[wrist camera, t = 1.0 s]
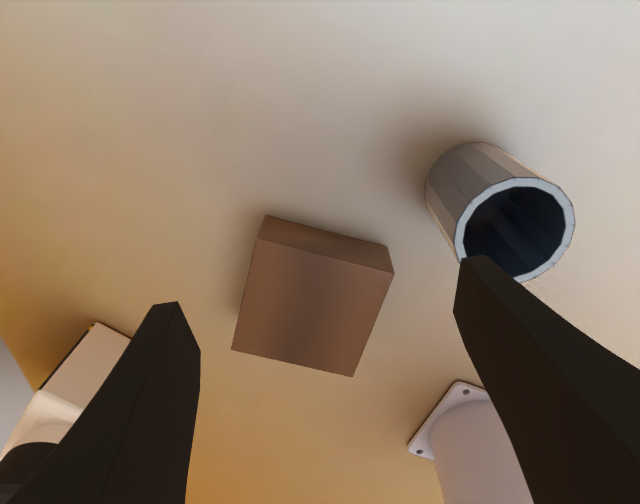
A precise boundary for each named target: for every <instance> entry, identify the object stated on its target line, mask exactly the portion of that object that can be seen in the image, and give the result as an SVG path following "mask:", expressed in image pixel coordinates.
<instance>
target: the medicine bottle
mask: <svg viewBox="0 0 640 504" xmlns="http://www.w3.org/2000/svg"><path fill="white" fill-rule="evenodd" d="M130 341H131V339H129V338H127V337H125V336H123V335H121V334H120V333H118V332H116V331H114V330H112V329H110V328H108V327H106V326H104V325H103V324H101V323H98V322H95V323H93V324H92V325H91V326H90V327H89V329H88V330H87V331H86V332H85V333H84V335H83V336H82V337H81V338H80V339H79V341H78V342H77V343H76V344H75V345H74V347H73V348H72V349H71V350H70V351H69V353H68V354H67V355H66V356H65V358H64V359H63V360H62V361H61V362H60V364H59V365H58V366H57V367H56V368H55V370H54V371H53V372H52V373H51V374H50V376H49V377H48V378H47V379H46V380H45V382H44V383H43V384H42V385H41V386H40V388H39V389H38V390H37V391H36V393H35V394H34V396H33V398H32V400H31V401H30V403H29V405H28V407H27V408H26V410H25V412H24V414H23V415H22V417H21V419H20V421H19V422H18V424H17V426H16V428H15V429H14V431H13V433H12V435H11V436H10V438H9V440H8V442H7V443H6V445H5V447H4V449H3V451H2V452H1V454H0V504H6V503H7V502H8V501H9V499H10V498H11V497H12V496H13V495H14V494H15V493H16V492H17V491H18V490H19V489H20V487H21V486H22V485H23V484H24V483H25V482H26V481H27V480H28V478H29V477H30V476H31V475H32V474H33V473H34V472H35V471H36V470H37V468H38V467H39V466H40V465H41V464H42V463H43V461H44V460H45V459H46V458H47V457H48V455H49V454H50V453H51V452H52V450H53V449H54V448H55V447H56V446H57V444H58V443H59V442H60V441H61V439H62V438H63V437H64V436H65V434H66V433H67V432H68V430H69V429H70V428H71V427H72V425H73V424H74V423H75V421H76V420H77V419H78V417H79V416H80V415H81V413H82V412H83V410H84V409H85V408H86V406H87V405H88V404H89V402H90V401H91V399H92V398H93V397H94V395H95V394H96V392H97V391H98V390H99V388H100V387H101V385H102V384H103V382H104V381H105V379H106V378H107V376H108V375H109V373H110V372H111V370H112V369H113V367H114V366H115V364H116V363H117V361H118V360H119V358H120V357H121V355H122V354H123V352H124V350H125V349H126V347H127V346H128V344H129V342H130Z"/></svg>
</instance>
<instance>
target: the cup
mask: <svg viewBox="0 0 640 504" xmlns="http://www.w3.org/2000/svg"><path fill="white" fill-rule="evenodd" d="M424 195H425V201H426V204H427V207H428V209H429V211H430V214H431V215H432V217H433V219H434V221H435V222H436V224H437V226H438V228H439V229H440V231H441V233H442V234H443V236H444V238H445V240H446V241H447V243H448V245H449V247H450V248H451V250H452V252H453V253H454V255H455V257H456V259H457V260H458V262H459V263H460V264H461V258H465V257H472V256H478V255H486V256H487V257H489V258H490V259H491V260H492V261H494V262H495V263H496V264H497V265H498V266H500V267H501V268H502V269H503V270H504V271H505V272H507V273H508V274H509V275H510V276H511V277H513V278H514V279H515V280H516V281H517V282H519V283H521V282H524V281H528V280H531V279H534V278H536V277H538V276H539V275H541V274H542V273H544V272H545V271H546V270H548V269H549V268H551V267H552V266H554V264H556V263H557V261H558V260H559V259H560V258H561V256H562V255H563V254H564V252H565V251H566V250H567V248H568V247H569V245H570V242H571V239H572V235H573V232H574V229H575V217H574V211H573V205H572V202H571V201H570V200H569V198H568V197H567V196H566V194H565V193H564V192H563V191H562V189H561V188H560V187H559V186H557V185H556V184H554V183H553V182H551V181H550V180H548V179H547V178H545V177H543V176H542V175H540V174H539V173H537V172H536V171H534V170H533V169H531V168H529V167H528V166H526V165H525V164H523V163H522V162H520V161H519V160H517V159H515V158H514V157H512V156H511V155H509V154H508V153H506V152H504V151H502V150H500V149H499V148H497V147H495V146H493V145H490V144H487V143H481V142H471V143H465V144H462V145H458V146H456V147H454V148H452V149H450V150H448V151H447V152H446V153H444V154H443V155H442V156H441V157H440V158H439V159H438V160H437V161H436V162H435V163H434V164H433V166H432V167H431V169H430V171H429V173H428V175H427V178H426V181H425V187H424Z"/></svg>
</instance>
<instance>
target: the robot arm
mask: <svg viewBox="0 0 640 504" xmlns="http://www.w3.org/2000/svg"><path fill="white" fill-rule="evenodd" d="M453 313H454V317H455V320H456V323H457V326H458V329H459V332H460V334H461V337H462V340H463V343H464V346H465V348H466V350H467V352H468V354H469V356H470V359H471V361H472V363H473V365H474V367H475V369H476V371H477V373H478V375H479V377H480V379H481V381H482V383H483V385H484V387H485V389H486V390H483V389H481V388H478V387H475V386H472V385H470V384H467V383H464V382H456V383H454V384H453V386H452V387H451V388H450V389H449V391H448V392H447V393H446V395H445V396H444V397H443V399H442V400H441V401H440V403H439V404H438V405H437V407H436V408H435V409H434V411H433V412H432V413H431V415H430V416H429V417H428V419H427V420H426V421H425V423H424V424H423V425H422V427H421V428H420V429H419V431H418V432H417V433H416V435H415V436H414V437H413V439H412V440H411V441H410V443H409V444H408V446H407V448H408V451H409V452H410V453H412V454H415V455H418V456H421V457H424V458H427V459H430V460H433V461H434V462H435V466H436V470H437V474H438V478H439V482H440V486H441V490H442V494H443V498H444V502H445V504H640V370H639V369H638V368H636V367H634V366H633V365H631V364H630V363H628V362H626V361H625V360H623V359H622V358H620V357H618V356H617V355H615V354H614V353H612V352H611V351H609V350H608V349H606V348H605V347H603V346H602V345H600V344H599V343H597V342H596V341H594V340H593V339H591V338H590V337H589V336H587V335H586V334H584V333H583V332H582V331H580V330H579V329H577V328H576V327H574V326H573V325H572V324H570V323H569V322H568V321H566V320H565V319H564V318H562V317H561V316H560V315H559V314H557V313H556V312H555V311H553V310H552V309H551V308H550V307H548V306H547V305H546V304H544V303H543V302H542V301H541V300H539V299H538V298H537V297H536V296H534V295H533V294H532V293H531V292H529V291H528V290H527V289H526V288H525V287H523V286H522V285H521V284H520V283H519V282H517V281H516V280H515V279H514V278H513V277H511V276H510V275H509V274H508V273H507V272H505V271H504V270H503V269H502V268H501V267H500V266H498V265H497V264H496V263H495V262H494V261H492V260H491V259H490V258H489V257H487V256H486V255H478V256H472V257H465V258H461V264H460V270H459V276H458V283H457V289H456V295H455V302H454V308H453ZM200 357H201V351H200V349H199V346H198V344H197V342H196V340H195V338H194V335H193V333H192V331H191V329H190V327H189V325H188V322H187V320H186V318H185V316H184V314H183V312H182V309H181V307H180V305H179V303H178V301H175V302H169V303H162V304H155V305H153V306H152V307H151V309H150V310H149V312H148V313H147V315H146V317H145V318H144V320H143V321H142V323H141V325H140V326H139V328H138V330H137V331H136V333H135V334H134V336H133V338H132V339H131V341H130V342H129V344H128V346H127V347H126V349H125V350H124V352H123V354H122V355H121V357H120V358H119V360H118V361H117V363H116V364H115V366H114V367H113V369H112V370H111V372H110V373H109V375H108V376H107V378H106V379H105V381H104V382H103V384H102V385H101V387H100V388H99V390H98V391H97V392H96V394H95V395H94V397H93V398H92V399H91V401H90V402H89V404H88V405H87V406H86V408H85V409H84V410H83V412H82V413H81V415H80V416H79V417H78V419H77V420H76V421H75V423H74V424H73V425H72V427H71V428H70V429H69V430H68V432H67V433H66V434H65V436H64V437H63V438H62V439H61V441H60V442H59V443H58V444H57V446H56V447H55V448H54V449H53V450H52V452H51V453H50V454H49V455H48V457H47V458H46V459H45V460H44V461H43V463H42V464H41V465H40V466H39V467H38V468H37V470H36V471H35V472H34V473H33V474H32V475H31V476H30V477H29V478H28V480H27V481H26V482H25V483H24V484H23V485H22V486H21V487H20V489H19V490H18V491H17V492H16V493H15V494H14V495H13V496H12V497H11V498H10V499H9V501H8V502H7V503H6V504H185V494H186V485H187V475H188V468H189V462H190V455H191V448H192V441H193V434H194V427H195V421H196V413H197V406H198V399H199V392H200ZM466 389H467V390H466ZM464 390H466V391H464ZM419 449H420V450H419Z"/></svg>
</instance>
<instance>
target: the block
mask: <svg viewBox="0 0 640 504" xmlns="http://www.w3.org/2000/svg"><path fill="white" fill-rule="evenodd" d="M393 276H394V270H393V266H392V263H391V259H390V256H389V252H388V248H387V247H385V246H381V245H377V244H373V243H369V242H365V241H362V240H358V239H354V238H350V237H346V236H343V235H339V234H335V233H331V232H327V231H323V230H320V229H316V228H312V227H308V226H304V225H300V224H297V223H293V222H289V221H285V220H281V219H278V218H274V217H270V216H265V217H264V220H263V222H262V225H261V228H260V231H259V233H258V236H257V239H256V243H255V248H254V252H253V256H252V260H251V265H250V269H249V273H248V278H247V282H246V286H245V291H244V295H243V299H242V304H241V308H240V312H239V316H238V321H237V325H236V329H235V334H234V338H233V342H232V347H231V350H235V351H239V352H243V353H248V354H252V355H257V356H261V357H265V358H270V359H274V360H279V361H283V362H287V363H292V364H296V365H301V366H305V367H309V368H314V369H318V370H322V371H327V372H331V373H336V374H340V375H344V376H349V377H353V375H354V373H355V370H356V368H357V365H358V363H359V360H360V358H361V355H362V353H363V350H364V348H365V346H366V343H367V341H368V338H369V336H370V333H371V331H372V328H373V326H374V323H375V321H376V318H377V316H378V313H379V311H380V308H381V306H382V303H383V301H384V298H385V296H386V294H387V291H388V289H389V286H390V284H391V281H392V279H393Z"/></svg>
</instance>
